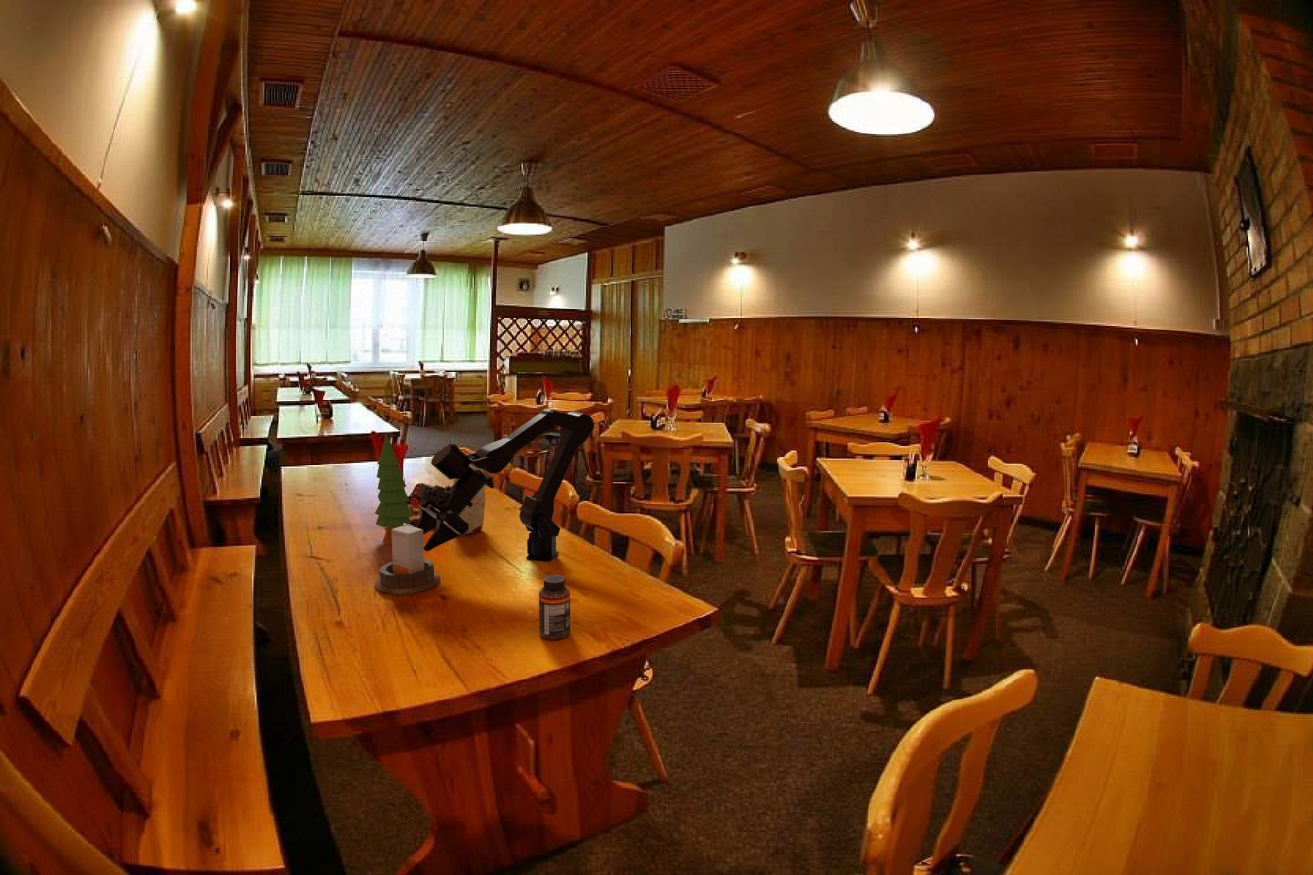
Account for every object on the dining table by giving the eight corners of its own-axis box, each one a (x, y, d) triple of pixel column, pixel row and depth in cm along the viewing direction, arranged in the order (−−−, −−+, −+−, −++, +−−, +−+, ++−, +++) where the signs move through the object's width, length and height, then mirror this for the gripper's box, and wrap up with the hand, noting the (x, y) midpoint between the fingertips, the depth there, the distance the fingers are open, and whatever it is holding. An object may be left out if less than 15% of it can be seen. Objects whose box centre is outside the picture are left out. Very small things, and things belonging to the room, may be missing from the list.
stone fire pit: (451, 575, 164) (451, 560, 163) (418, 597, 150) (417, 580, 150) (398, 569, 167) (398, 554, 166) (361, 590, 154) (360, 574, 153)
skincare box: (392, 579, 158) (390, 528, 157) (407, 574, 162) (406, 524, 160) (410, 585, 155) (408, 533, 153) (425, 579, 159) (424, 528, 157)
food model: (462, 538, 193) (461, 467, 190) (448, 533, 197) (446, 464, 194) (491, 530, 200) (490, 462, 197) (476, 526, 204) (475, 459, 201)
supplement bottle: (540, 628, 137) (540, 572, 135) (570, 627, 137) (570, 572, 135) (537, 641, 131) (537, 583, 129) (569, 641, 131) (569, 583, 129)
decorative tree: (371, 540, 189) (366, 431, 184) (403, 533, 196) (399, 428, 192) (389, 548, 183) (384, 435, 178) (421, 540, 190) (417, 432, 185)
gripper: (425, 463, 167) (379, 515, 162) (453, 477, 152) (404, 535, 147) (458, 491, 173) (415, 542, 168) (488, 507, 158) (442, 563, 153)
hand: (418, 544), depth 159 cm, fingers open, 9 cm apart
